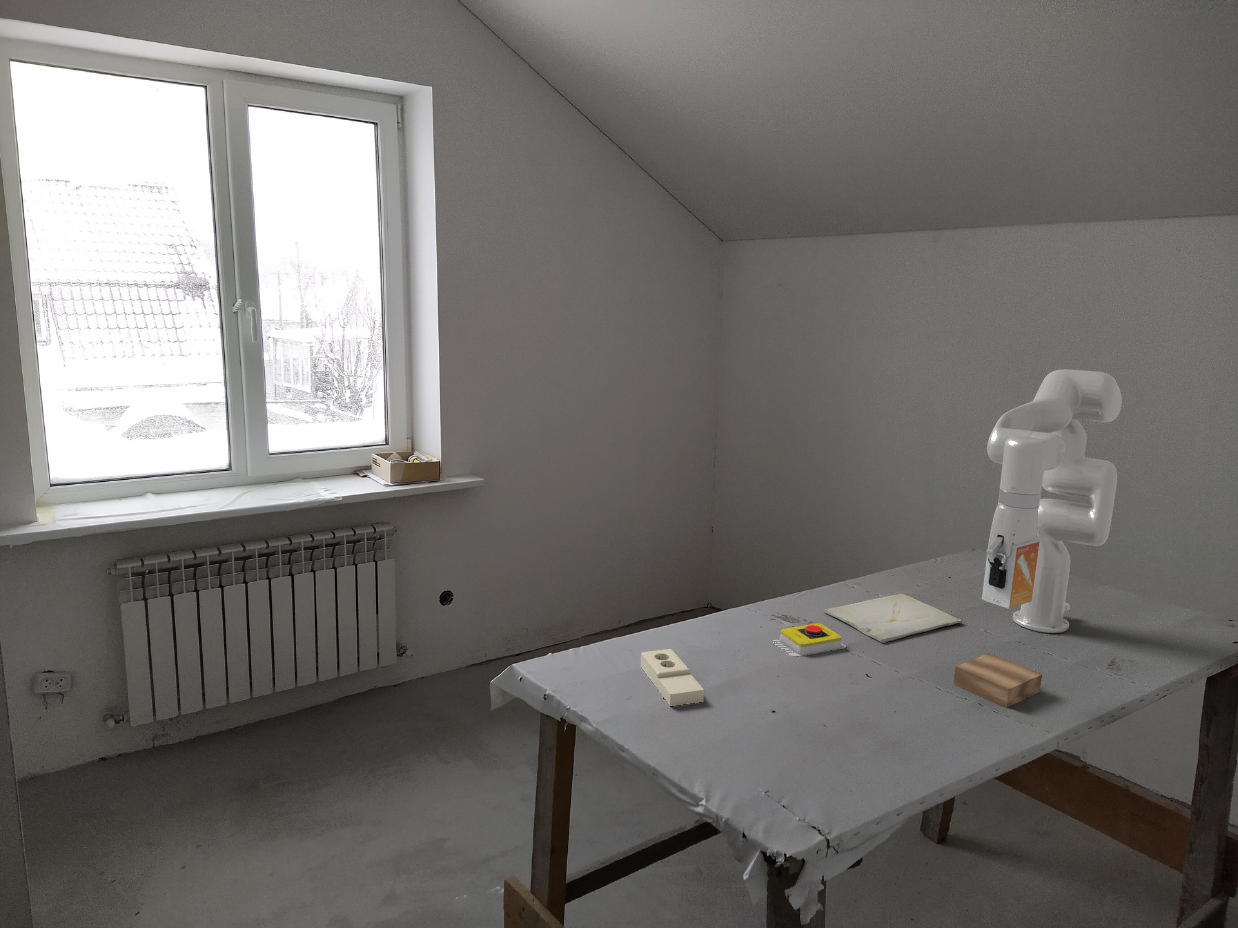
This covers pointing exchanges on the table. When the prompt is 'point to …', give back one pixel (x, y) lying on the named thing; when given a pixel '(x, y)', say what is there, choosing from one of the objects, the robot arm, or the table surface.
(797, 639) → the emergency button
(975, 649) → the table surface
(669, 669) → the electrical outlet
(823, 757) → the table surface
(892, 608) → the decorative slab
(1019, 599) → the small box
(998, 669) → the walnut base
